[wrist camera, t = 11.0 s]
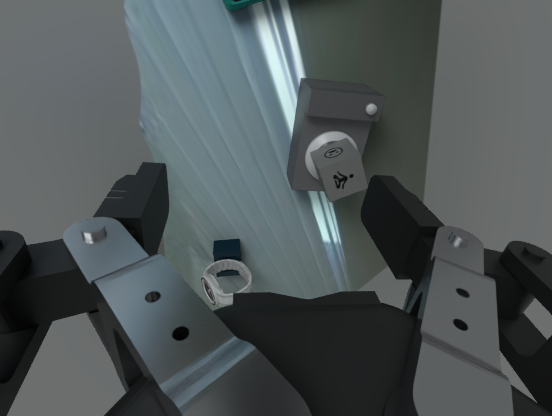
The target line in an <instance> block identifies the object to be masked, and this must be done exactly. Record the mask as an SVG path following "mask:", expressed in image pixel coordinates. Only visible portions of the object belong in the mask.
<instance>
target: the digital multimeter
mask: <svg viewBox="0 0 552 416" xmlns="http://www.w3.org/2000/svg"><path fill="white" fill-rule="evenodd" d="M261 1H264V0H223V2H224V4H225V6H226V8H227V10H229V11H234V10H237V9H240V8H243V7H246V6H249V5H251V4H254V3H257V2H261Z"/></svg>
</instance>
